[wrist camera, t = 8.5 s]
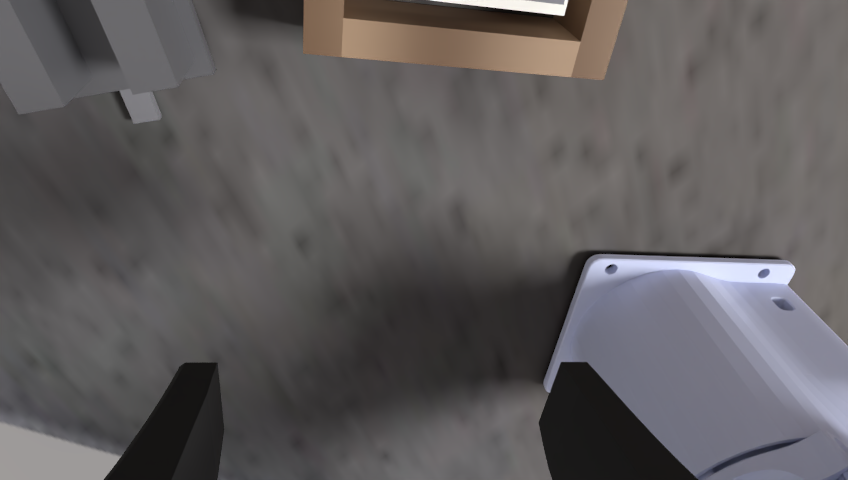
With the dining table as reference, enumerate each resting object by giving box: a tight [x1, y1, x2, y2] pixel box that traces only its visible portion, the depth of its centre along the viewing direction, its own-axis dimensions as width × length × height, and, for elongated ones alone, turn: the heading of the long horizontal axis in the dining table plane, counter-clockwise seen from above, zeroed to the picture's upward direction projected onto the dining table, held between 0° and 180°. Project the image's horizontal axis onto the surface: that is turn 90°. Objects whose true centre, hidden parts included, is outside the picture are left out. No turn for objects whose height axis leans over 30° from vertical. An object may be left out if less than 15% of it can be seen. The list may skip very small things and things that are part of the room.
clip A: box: [0, 0, 216, 115], centre depth 15 cm, size 5×5×3 cm
